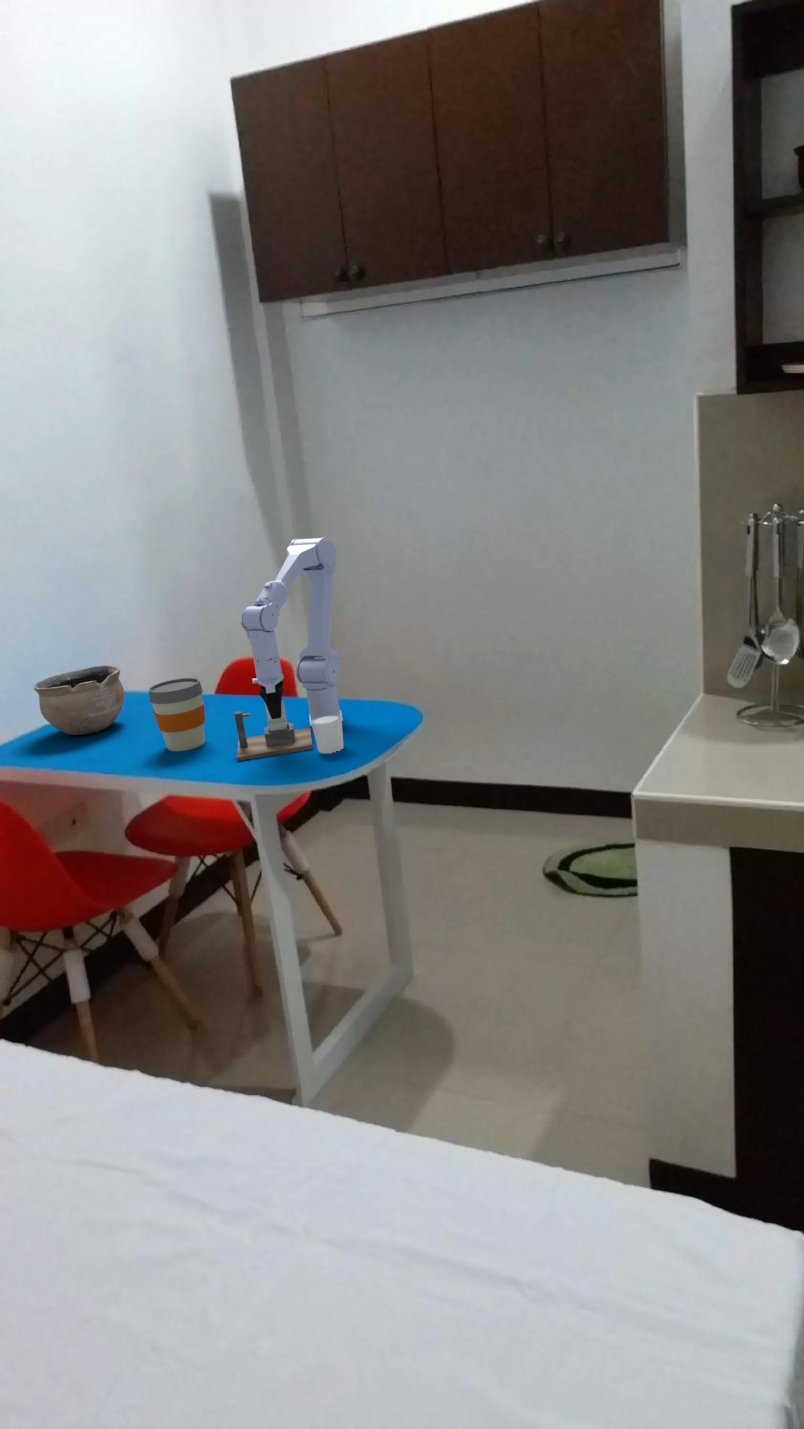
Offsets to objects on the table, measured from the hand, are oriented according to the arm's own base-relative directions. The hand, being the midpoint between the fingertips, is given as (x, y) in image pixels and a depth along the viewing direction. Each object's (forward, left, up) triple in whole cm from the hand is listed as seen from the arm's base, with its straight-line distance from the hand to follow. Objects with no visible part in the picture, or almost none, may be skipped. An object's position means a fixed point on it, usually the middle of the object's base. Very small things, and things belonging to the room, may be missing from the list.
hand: (276, 715), depth 248 cm
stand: (0, -2, -7) cm, 7 cm away
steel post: (0, 0, -4) cm, 4 cm away
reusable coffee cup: (-13, -23, -7) cm, 27 cm away
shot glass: (+9, +11, -7) cm, 16 cm away
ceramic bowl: (-42, -51, -7) cm, 66 cm away
